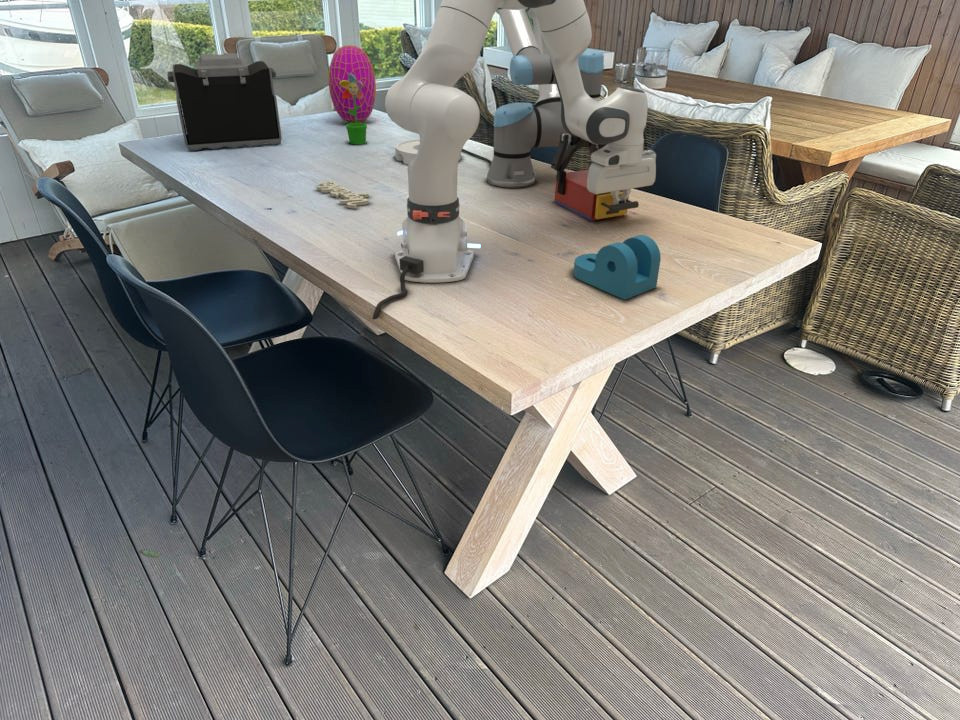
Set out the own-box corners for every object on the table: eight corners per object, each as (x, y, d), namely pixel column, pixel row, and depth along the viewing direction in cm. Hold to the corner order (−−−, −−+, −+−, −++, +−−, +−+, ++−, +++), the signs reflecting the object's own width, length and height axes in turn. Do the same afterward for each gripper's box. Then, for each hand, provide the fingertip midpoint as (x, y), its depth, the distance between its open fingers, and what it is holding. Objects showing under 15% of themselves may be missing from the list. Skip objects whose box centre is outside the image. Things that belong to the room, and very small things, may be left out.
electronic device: (279, 132, 275) (268, 51, 260) (286, 144, 258) (275, 58, 243) (181, 139, 264) (164, 54, 249) (182, 152, 246) (163, 62, 231)
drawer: (638, 219, 186) (641, 197, 183) (608, 225, 182) (611, 202, 179) (590, 197, 203) (592, 176, 200) (562, 201, 199) (563, 180, 196)
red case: (623, 215, 192) (627, 186, 188) (590, 221, 188) (593, 191, 183) (585, 197, 206) (588, 169, 202) (554, 202, 202) (556, 173, 198)
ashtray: (454, 167, 232) (454, 155, 230) (388, 164, 235) (387, 152, 233) (466, 151, 252) (466, 140, 250) (404, 148, 255) (404, 137, 253)
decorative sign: (381, 199, 198) (351, 206, 193) (382, 203, 199) (351, 209, 193) (339, 178, 216) (309, 184, 211) (339, 182, 216) (310, 187, 211)
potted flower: (342, 144, 260) (336, 73, 247) (351, 139, 266) (346, 70, 254) (365, 146, 257) (360, 74, 245) (374, 141, 264) (369, 71, 251)
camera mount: (656, 287, 150) (663, 241, 145) (624, 299, 144) (630, 252, 139) (595, 262, 162) (599, 219, 157) (563, 272, 156) (567, 228, 151)
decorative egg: (362, 116, 305) (357, 42, 290) (386, 123, 292) (382, 46, 277) (324, 121, 294) (316, 45, 279) (347, 129, 281) (340, 49, 266)
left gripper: (648, 146, 184) (642, 196, 191) (585, 154, 176) (581, 207, 183) (664, 151, 179) (657, 203, 186) (600, 160, 171) (595, 214, 178)
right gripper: (611, 106, 196) (603, 182, 207) (541, 113, 186) (536, 192, 197) (628, 111, 190) (619, 189, 201) (556, 118, 181) (550, 199, 192)
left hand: (619, 205), depth 184 cm, fingers closed
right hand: (578, 191), depth 199 cm, fingers closed on red case, 11 cm apart
